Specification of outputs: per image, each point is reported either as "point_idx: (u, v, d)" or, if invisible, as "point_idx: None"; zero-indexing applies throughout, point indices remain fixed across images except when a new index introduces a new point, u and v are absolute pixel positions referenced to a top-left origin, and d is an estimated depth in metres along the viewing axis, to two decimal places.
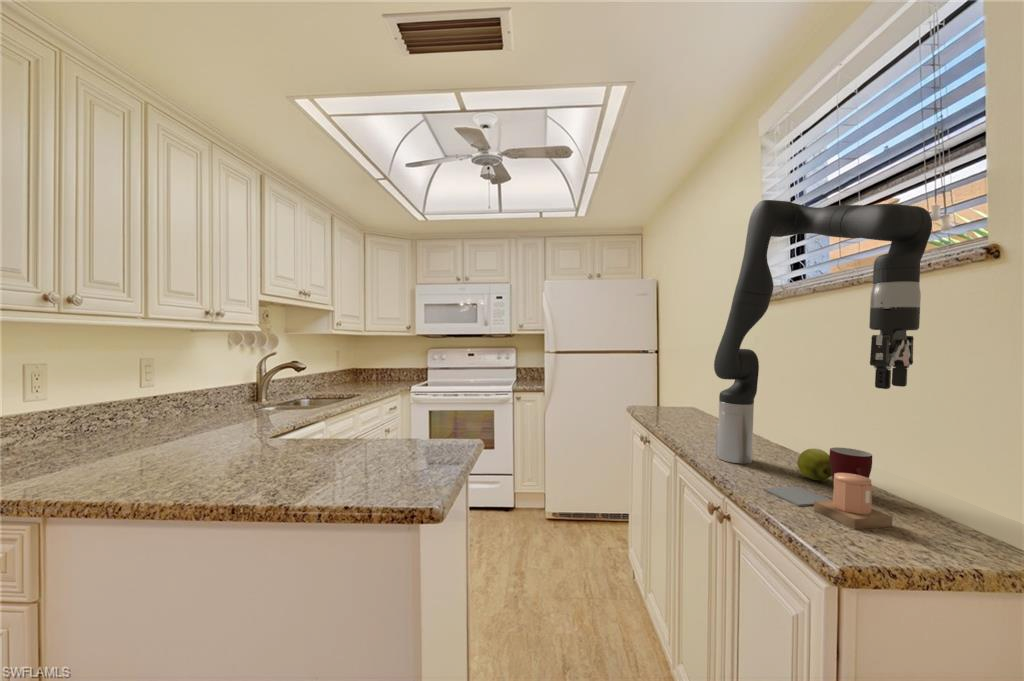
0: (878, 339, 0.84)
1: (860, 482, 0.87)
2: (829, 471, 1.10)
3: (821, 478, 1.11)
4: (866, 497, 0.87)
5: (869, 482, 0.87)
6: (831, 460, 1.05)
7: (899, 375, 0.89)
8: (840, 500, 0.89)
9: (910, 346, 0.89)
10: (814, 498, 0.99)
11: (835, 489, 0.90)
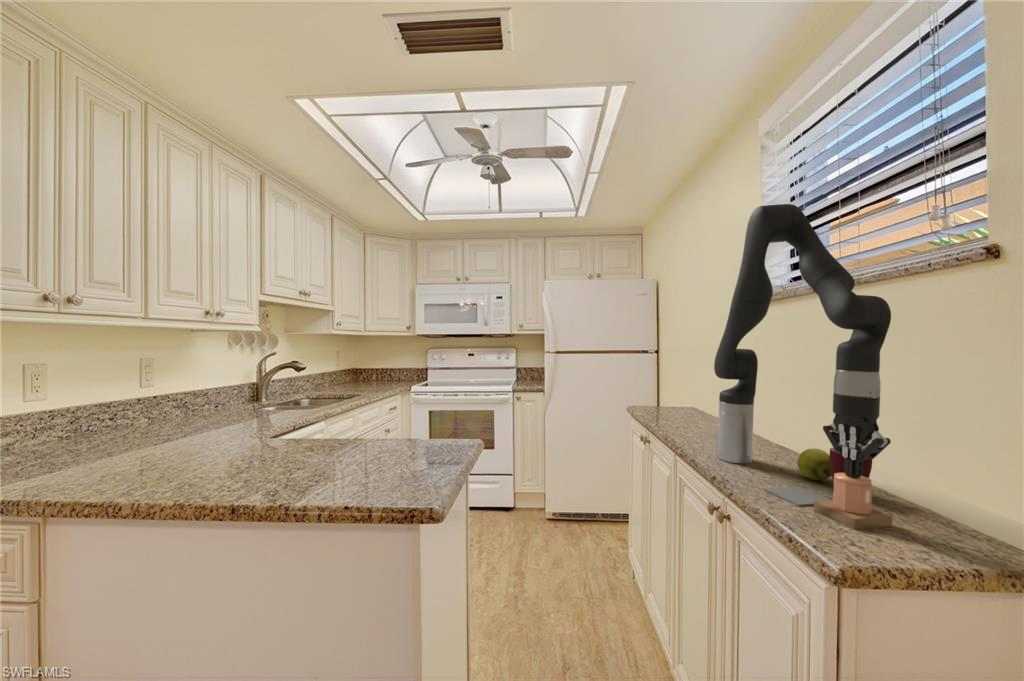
0: (883, 444, 0.84)
1: (860, 482, 0.87)
2: (829, 471, 1.10)
3: (821, 478, 1.11)
4: (866, 497, 0.87)
5: (869, 482, 0.87)
6: (831, 460, 1.05)
7: None
8: (840, 500, 0.89)
9: (839, 433, 0.94)
10: (814, 498, 0.99)
11: (835, 489, 0.90)
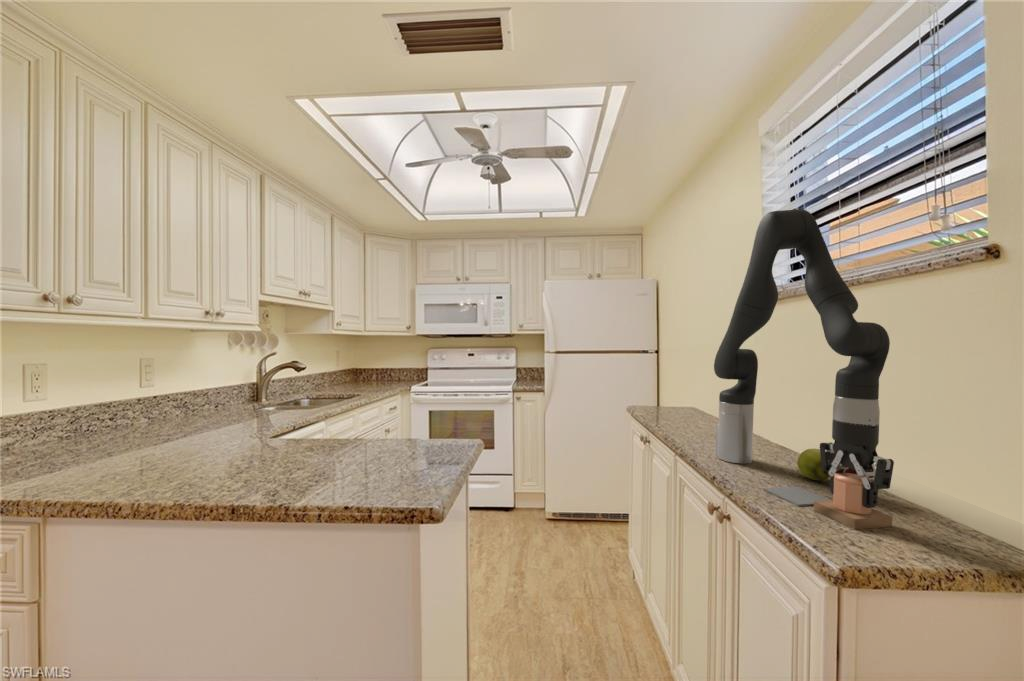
0: (887, 464, 0.83)
1: (860, 482, 0.87)
2: None
3: (821, 478, 1.11)
4: None
5: None
6: None
7: None
8: (840, 500, 0.89)
9: (833, 452, 0.95)
10: (814, 498, 0.99)
11: (835, 489, 0.90)
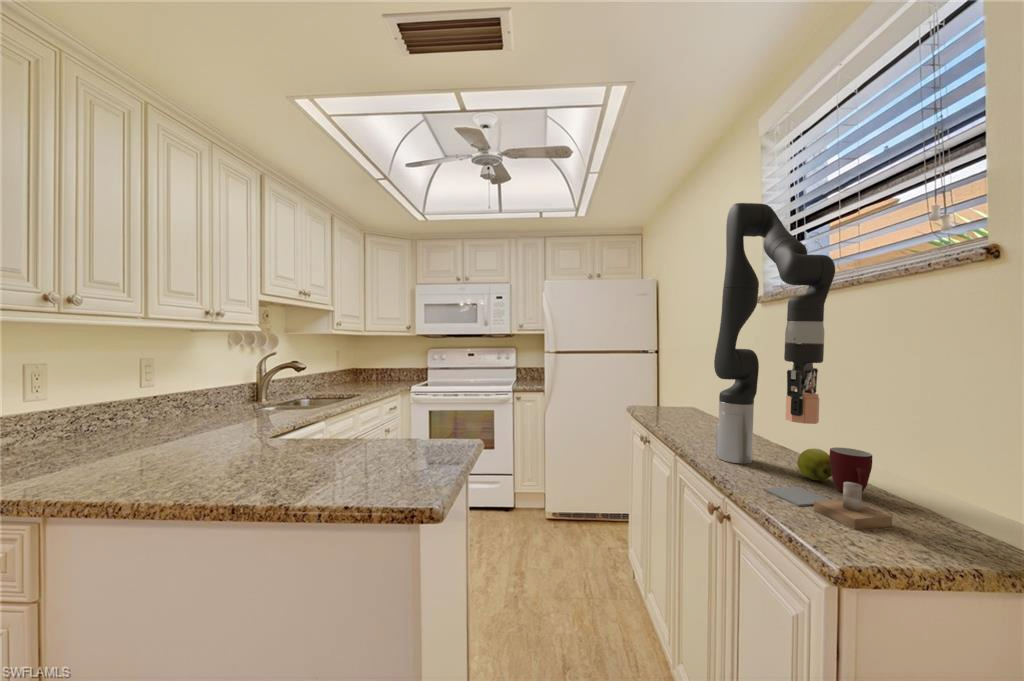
0: (792, 374, 0.96)
1: None
2: (829, 471, 1.10)
3: (821, 478, 1.11)
4: None
5: None
6: (831, 460, 1.05)
7: None
8: None
9: (815, 377, 1.04)
10: (814, 498, 0.99)
11: None
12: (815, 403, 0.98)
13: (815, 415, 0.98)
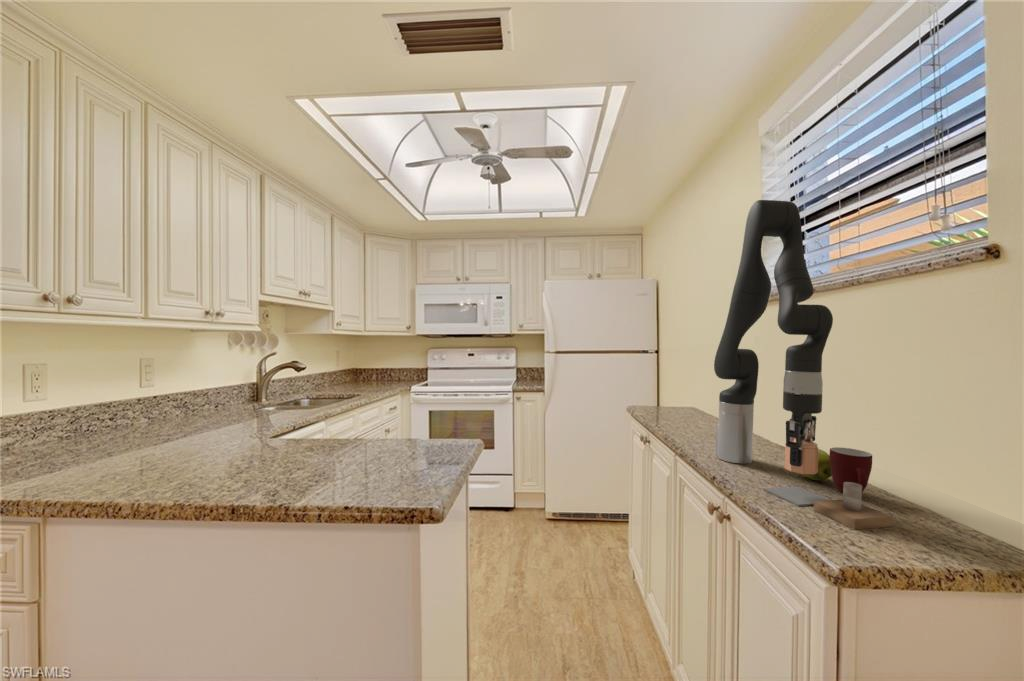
0: (791, 425, 0.97)
1: None
2: (829, 471, 1.10)
3: (821, 478, 1.11)
4: None
5: None
6: (831, 460, 1.05)
7: None
8: None
9: (813, 425, 1.04)
10: (814, 498, 0.99)
11: None
12: (814, 453, 0.98)
13: (814, 465, 0.98)
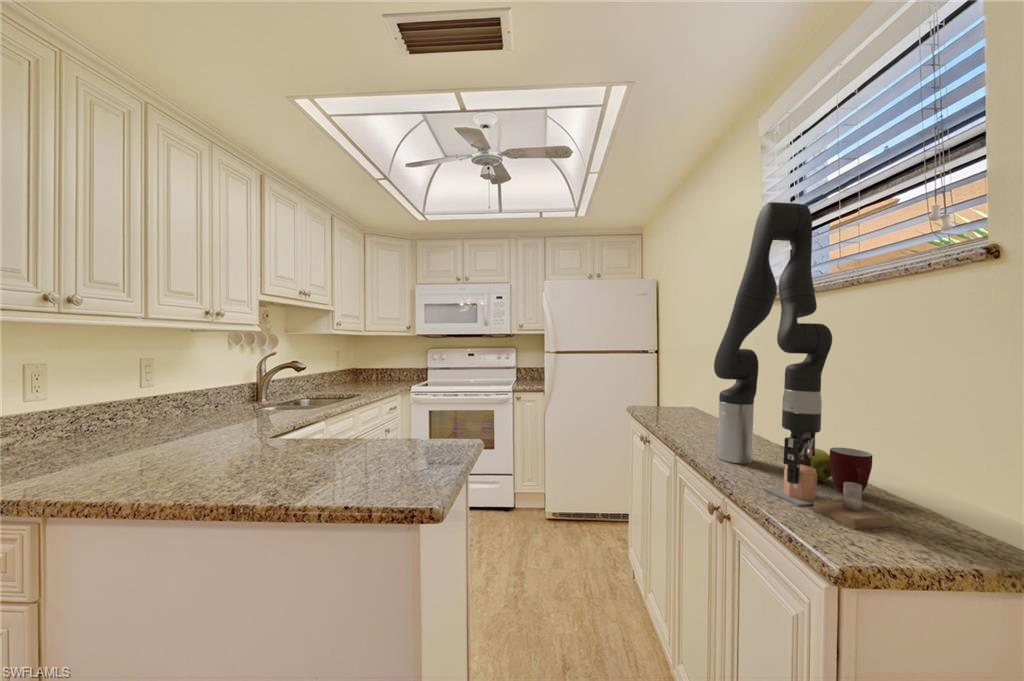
0: (790, 442, 0.97)
1: None
2: (829, 471, 1.10)
3: (821, 478, 1.11)
4: None
5: (800, 471, 0.99)
6: (831, 460, 1.05)
7: None
8: None
9: (813, 441, 1.04)
10: None
11: None
12: (813, 479, 0.98)
13: (813, 491, 0.98)
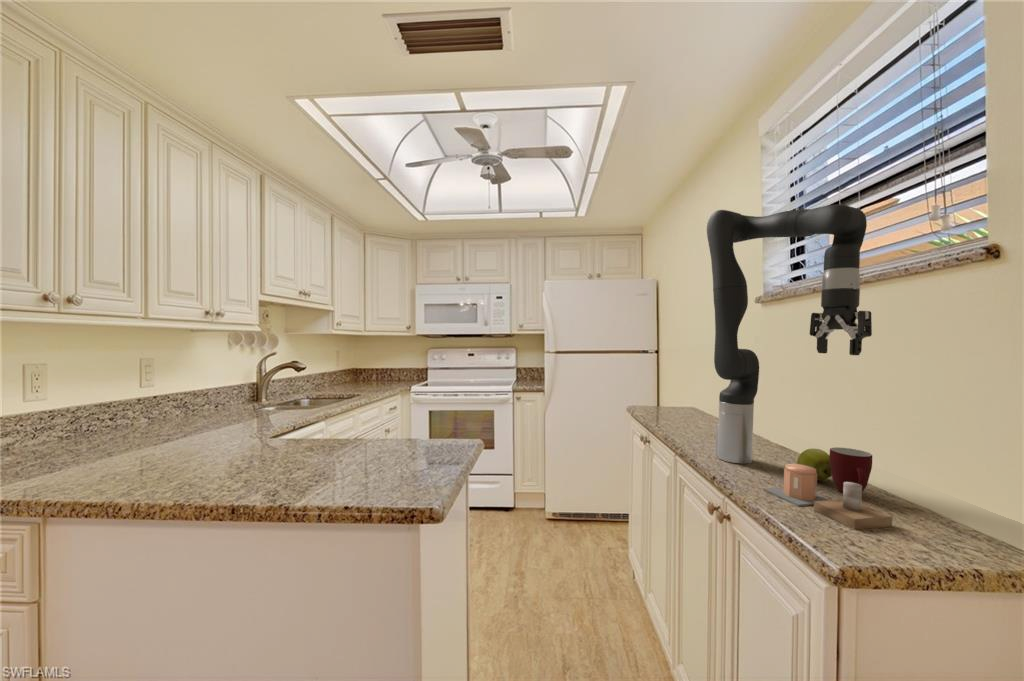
0: (866, 314, 1.01)
1: (791, 469, 1.00)
2: (829, 471, 1.10)
3: (821, 478, 1.11)
4: (794, 483, 0.99)
5: (800, 471, 0.99)
6: (831, 460, 1.05)
7: (824, 344, 1.11)
8: None
9: (821, 321, 1.13)
10: None
11: None
12: (813, 479, 0.98)
13: (813, 491, 0.98)
